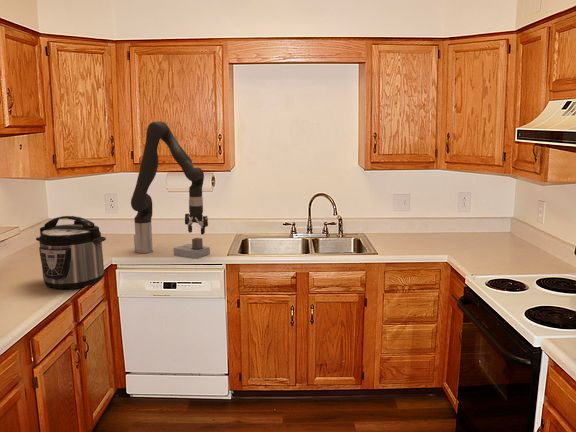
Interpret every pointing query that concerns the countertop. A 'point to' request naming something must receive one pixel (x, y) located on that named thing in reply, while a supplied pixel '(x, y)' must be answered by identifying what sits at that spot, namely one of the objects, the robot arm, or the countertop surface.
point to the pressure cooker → (71, 253)
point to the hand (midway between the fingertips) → (196, 233)
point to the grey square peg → (197, 244)
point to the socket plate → (191, 251)
